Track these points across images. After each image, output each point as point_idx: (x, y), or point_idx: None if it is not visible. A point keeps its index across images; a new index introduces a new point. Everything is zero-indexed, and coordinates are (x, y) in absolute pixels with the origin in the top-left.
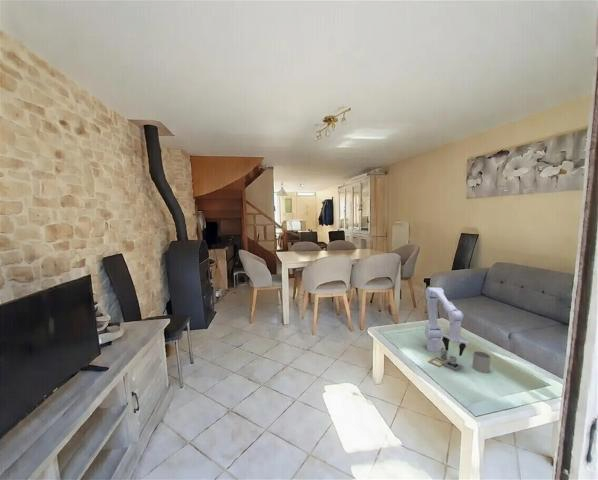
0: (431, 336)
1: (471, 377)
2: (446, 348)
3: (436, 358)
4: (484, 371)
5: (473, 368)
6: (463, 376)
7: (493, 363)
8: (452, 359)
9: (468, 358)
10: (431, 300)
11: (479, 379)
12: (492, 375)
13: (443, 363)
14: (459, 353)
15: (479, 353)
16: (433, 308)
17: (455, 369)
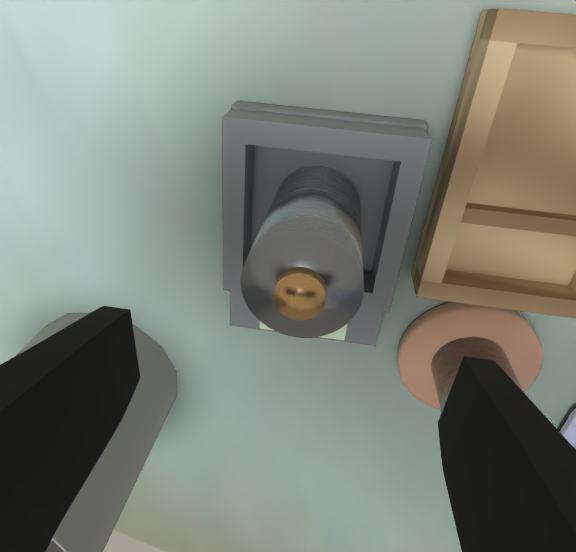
0: None
1: (76, 150)
2: (498, 404)
3: (569, 292)
4: (31, 344)
5: (143, 350)
6: (140, 87)
7: (118, 522)
8: (298, 222)
9: (270, 503)
10: None
11: (9, 177)
12: (11, 354)
13: (449, 183)
14: (84, 340)
15: None
16: None
17: (242, 116)
